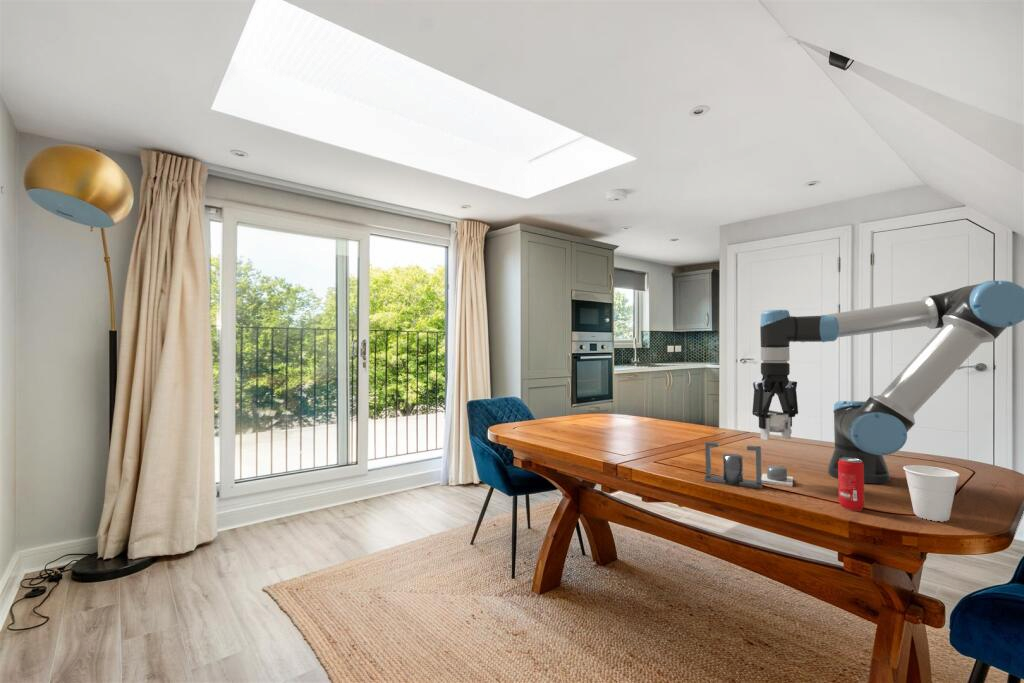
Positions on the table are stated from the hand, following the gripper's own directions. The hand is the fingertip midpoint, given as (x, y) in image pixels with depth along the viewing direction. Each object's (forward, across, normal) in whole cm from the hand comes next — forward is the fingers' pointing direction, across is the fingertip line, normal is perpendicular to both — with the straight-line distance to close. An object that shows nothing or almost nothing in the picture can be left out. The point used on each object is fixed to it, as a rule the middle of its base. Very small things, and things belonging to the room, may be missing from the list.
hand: (775, 438), depth 139 cm
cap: (-2, 0, 0) cm, 2 cm away
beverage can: (+13, -1, +24) cm, 27 cm away
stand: (+13, 0, 0) cm, 13 cm away
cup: (+13, -12, +34) cm, 38 cm away
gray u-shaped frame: (+13, +13, -2) cm, 18 cm away
